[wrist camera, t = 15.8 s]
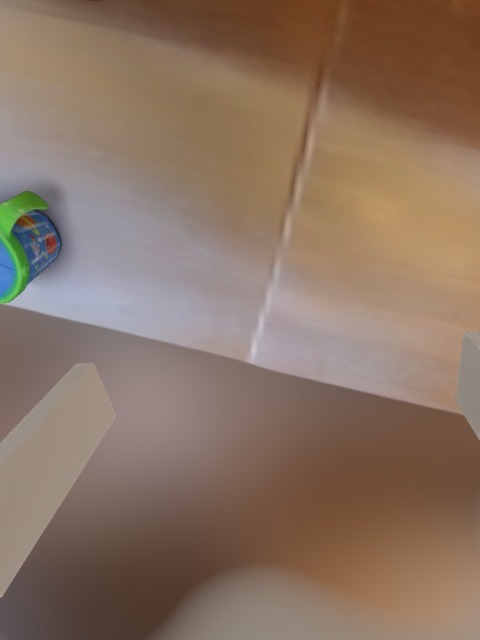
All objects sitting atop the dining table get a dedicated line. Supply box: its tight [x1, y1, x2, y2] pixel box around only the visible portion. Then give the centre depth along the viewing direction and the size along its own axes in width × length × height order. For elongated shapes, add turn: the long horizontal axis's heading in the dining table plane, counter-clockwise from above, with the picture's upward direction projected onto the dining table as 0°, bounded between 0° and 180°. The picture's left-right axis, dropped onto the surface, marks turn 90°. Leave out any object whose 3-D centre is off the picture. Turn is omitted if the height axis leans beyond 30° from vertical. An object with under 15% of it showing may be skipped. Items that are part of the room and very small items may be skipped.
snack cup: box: [0, 191, 61, 303], centre depth 42 cm, size 16×10×10 cm
